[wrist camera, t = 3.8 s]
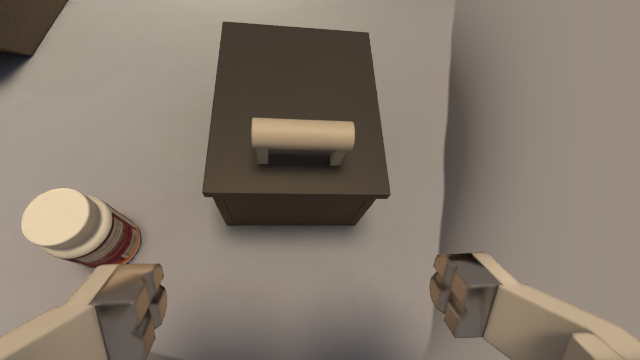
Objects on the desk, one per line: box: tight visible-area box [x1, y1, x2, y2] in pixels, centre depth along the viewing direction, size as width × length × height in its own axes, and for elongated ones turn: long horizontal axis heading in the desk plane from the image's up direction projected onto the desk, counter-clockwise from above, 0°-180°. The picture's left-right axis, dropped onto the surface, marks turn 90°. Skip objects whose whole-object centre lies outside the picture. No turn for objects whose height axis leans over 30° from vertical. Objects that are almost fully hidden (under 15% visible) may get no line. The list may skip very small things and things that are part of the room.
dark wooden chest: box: [213, 197, 376, 225], centre depth 30 cm, size 15×13×10 cm
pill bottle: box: [21, 188, 140, 269], centre depth 25 cm, size 5×5×8 cm
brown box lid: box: [202, 22, 390, 199], centre depth 23 cm, size 16×13×5 cm
